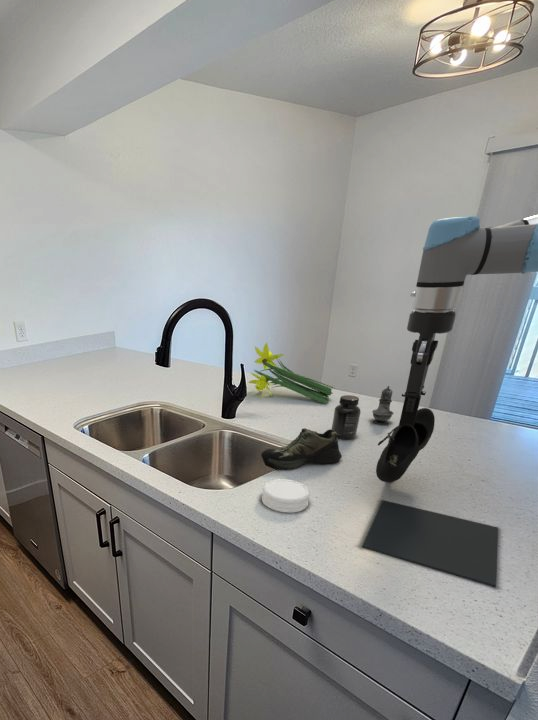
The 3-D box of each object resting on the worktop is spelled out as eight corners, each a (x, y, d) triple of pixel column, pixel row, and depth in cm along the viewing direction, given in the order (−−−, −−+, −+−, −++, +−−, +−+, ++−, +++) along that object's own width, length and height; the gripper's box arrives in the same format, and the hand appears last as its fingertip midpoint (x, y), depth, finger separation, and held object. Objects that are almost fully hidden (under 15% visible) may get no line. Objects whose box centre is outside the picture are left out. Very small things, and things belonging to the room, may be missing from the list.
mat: (497, 529, 85) (497, 527, 84) (494, 588, 71) (495, 585, 71) (382, 502, 96) (383, 500, 96) (361, 548, 82) (362, 545, 82)
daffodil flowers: (316, 412, 151) (230, 375, 167) (319, 421, 165) (239, 386, 180) (342, 369, 149) (253, 335, 165) (343, 381, 162) (260, 349, 178)
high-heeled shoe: (440, 420, 100) (449, 397, 83) (401, 494, 103) (401, 486, 86) (403, 408, 104) (404, 385, 87) (366, 480, 107) (360, 470, 90)
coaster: (297, 518, 92) (299, 504, 90) (253, 504, 98) (255, 491, 96) (314, 499, 99) (316, 485, 97) (273, 487, 105) (274, 474, 103)
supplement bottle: (358, 435, 130) (366, 396, 124) (351, 442, 125) (358, 402, 120) (334, 430, 134) (341, 392, 129) (327, 437, 129) (333, 398, 124)
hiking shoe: (254, 459, 119) (256, 427, 114) (327, 450, 121) (332, 419, 117) (267, 473, 111) (270, 440, 107) (345, 463, 114) (351, 430, 109)
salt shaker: (365, 421, 139) (373, 384, 134) (380, 418, 141) (388, 382, 135) (380, 427, 134) (388, 389, 129) (395, 424, 136) (404, 386, 130)
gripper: (415, 305, 90) (392, 413, 101) (405, 314, 81) (381, 432, 92) (459, 306, 86) (430, 418, 97) (454, 314, 77) (422, 438, 88)
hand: (406, 425), depth 94 cm, fingers closed
